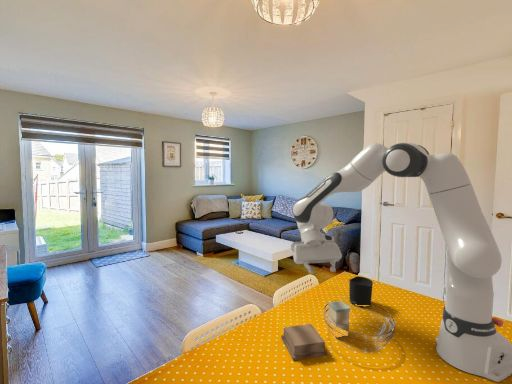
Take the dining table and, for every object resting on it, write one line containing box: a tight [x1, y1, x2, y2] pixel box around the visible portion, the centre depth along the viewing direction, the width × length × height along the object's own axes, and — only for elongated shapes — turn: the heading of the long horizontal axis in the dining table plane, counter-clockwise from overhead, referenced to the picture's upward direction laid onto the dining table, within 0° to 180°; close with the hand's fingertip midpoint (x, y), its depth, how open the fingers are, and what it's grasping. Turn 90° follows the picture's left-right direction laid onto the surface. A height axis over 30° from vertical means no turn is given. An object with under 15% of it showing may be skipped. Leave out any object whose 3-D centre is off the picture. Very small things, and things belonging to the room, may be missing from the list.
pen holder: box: [348, 275, 374, 306], centre depth 115 cm, size 9×9×10 cm
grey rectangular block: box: [327, 300, 351, 339], centre depth 93 cm, size 5×5×10 cm
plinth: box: [280, 323, 328, 361], centre depth 86 cm, size 11×11×4 cm
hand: (322, 272), depth 104 cm, fingers open, 8 cm apart
